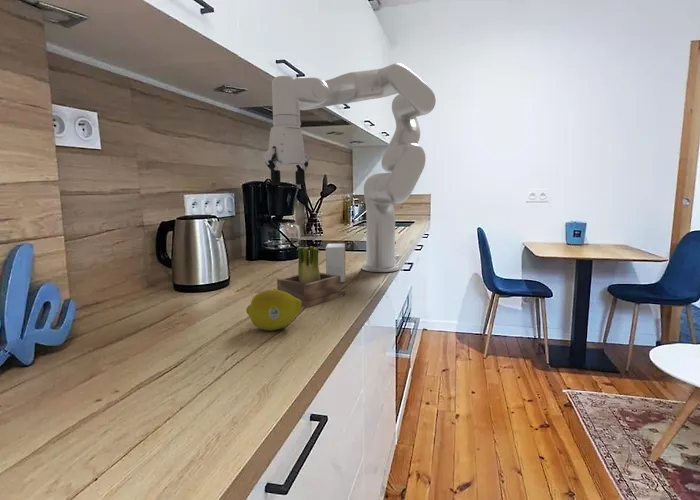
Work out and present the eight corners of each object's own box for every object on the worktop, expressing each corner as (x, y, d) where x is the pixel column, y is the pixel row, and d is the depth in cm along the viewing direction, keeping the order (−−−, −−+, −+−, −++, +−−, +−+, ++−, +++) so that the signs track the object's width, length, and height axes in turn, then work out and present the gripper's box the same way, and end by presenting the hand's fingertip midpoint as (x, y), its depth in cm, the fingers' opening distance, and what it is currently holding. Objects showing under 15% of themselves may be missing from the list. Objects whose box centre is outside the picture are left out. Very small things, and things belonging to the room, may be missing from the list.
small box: (344, 282, 124) (344, 247, 123) (325, 282, 124) (325, 247, 123) (345, 276, 132) (345, 243, 131) (327, 276, 132) (327, 243, 131)
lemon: (242, 335, 82) (240, 295, 81) (253, 322, 90) (251, 285, 88) (298, 336, 81) (297, 295, 80) (304, 322, 89) (303, 285, 88)
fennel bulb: (296, 292, 110) (295, 246, 108) (312, 289, 113) (311, 244, 111) (307, 296, 106) (306, 248, 104) (324, 293, 109) (323, 247, 107)
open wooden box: (311, 287, 118) (310, 270, 118) (345, 294, 111) (344, 275, 110) (273, 298, 108) (272, 279, 107) (308, 307, 100) (307, 286, 99)
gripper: (298, 127, 129) (300, 184, 132) (253, 121, 116) (256, 185, 118) (317, 125, 125) (318, 184, 127) (272, 118, 111) (274, 185, 114)
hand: (288, 184), depth 123 cm, fingers open, 9 cm apart
